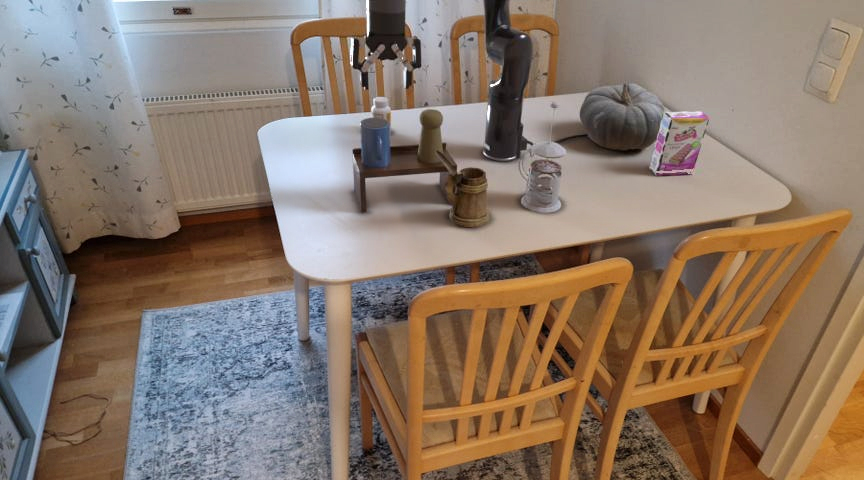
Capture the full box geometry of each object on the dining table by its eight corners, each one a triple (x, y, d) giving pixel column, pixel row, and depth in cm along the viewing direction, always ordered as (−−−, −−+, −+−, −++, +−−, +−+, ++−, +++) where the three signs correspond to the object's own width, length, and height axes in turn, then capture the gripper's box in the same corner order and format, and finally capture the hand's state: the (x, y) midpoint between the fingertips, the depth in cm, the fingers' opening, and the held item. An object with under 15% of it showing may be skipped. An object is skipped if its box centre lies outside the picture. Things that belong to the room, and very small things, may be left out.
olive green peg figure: (439, 164, 143) (441, 117, 137) (413, 160, 144) (414, 114, 137) (446, 154, 148) (448, 108, 142) (421, 150, 149) (422, 104, 142)
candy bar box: (656, 177, 169) (671, 118, 160) (648, 168, 173) (662, 110, 164) (693, 175, 172) (710, 117, 162) (684, 167, 175) (700, 110, 166)
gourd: (635, 113, 200) (647, 62, 188) (677, 158, 184) (693, 105, 172) (563, 126, 194) (570, 74, 182) (600, 173, 178) (611, 120, 165)
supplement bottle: (386, 127, 184) (385, 94, 178) (394, 134, 180) (393, 101, 175) (368, 130, 181) (367, 97, 176) (376, 137, 178) (375, 103, 172)
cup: (387, 154, 145) (386, 116, 140) (394, 170, 139) (394, 130, 134) (359, 156, 144) (357, 117, 138) (365, 172, 137) (364, 132, 132)
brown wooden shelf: (443, 184, 157) (445, 142, 150) (455, 204, 149) (457, 160, 143) (354, 192, 150) (352, 148, 144) (361, 212, 143) (359, 167, 136)
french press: (549, 217, 147) (565, 113, 133) (506, 201, 152) (517, 100, 138) (568, 201, 154) (584, 101, 140) (526, 187, 159) (538, 88, 145)
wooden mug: (424, 216, 143) (426, 141, 133) (476, 205, 149) (482, 133, 139) (442, 235, 137) (445, 158, 127) (496, 222, 143) (503, 148, 133)
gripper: (352, 10, 119) (355, 95, 128) (426, 11, 124) (423, 93, 133) (346, 1, 125) (349, 83, 134) (417, 3, 129) (415, 81, 138)
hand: (386, 88), depth 133 cm, fingers open, 8 cm apart
